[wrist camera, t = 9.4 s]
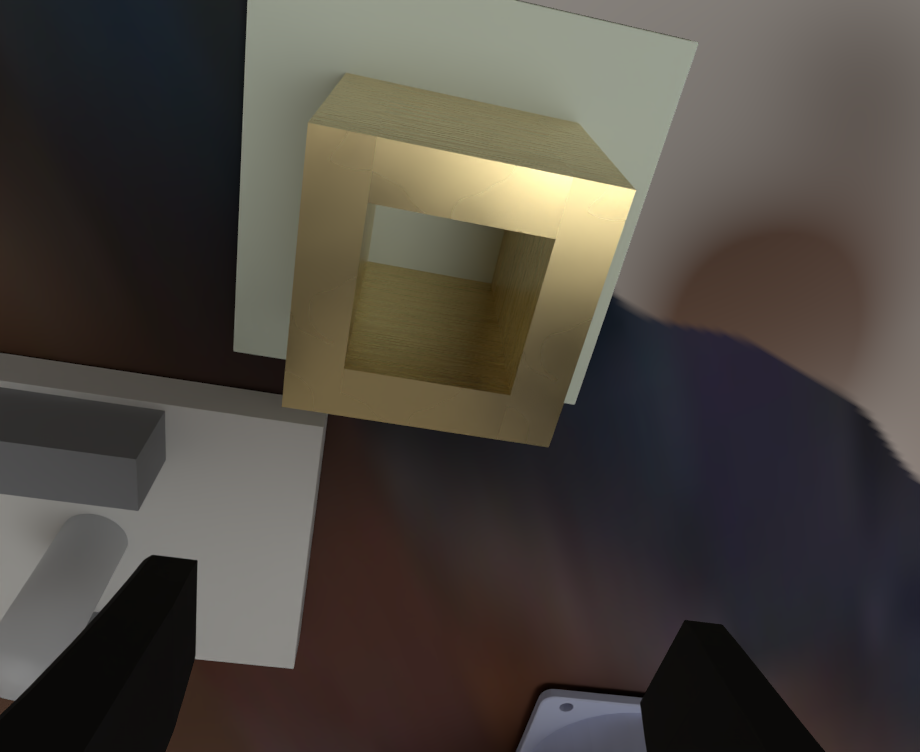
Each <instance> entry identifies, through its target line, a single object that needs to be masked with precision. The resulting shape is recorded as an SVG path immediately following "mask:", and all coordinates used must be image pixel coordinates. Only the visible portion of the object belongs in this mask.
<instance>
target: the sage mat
mask: <svg viewBox="0 0 920 752" xmlns="http://www.w3.org/2000/svg"><path fill="white" fill-rule="evenodd" d="M697 46H698V43H697V42H694V41H691V40H688V39H683V38H679V37H675V36H671V35H666V34H662V33H657V32H653V31H649V30H645V29H640V28H635V27H632V26H627V25H623V24H619V23H614V22H610V21H606V20H601V19H597V18H593V17H588V16H583V15H579V14H575V13H571V12H567V11H562V10H558V9H554V8H549V7H545V6H541V5H537V4H532V3H528V2H523V1H519V0H248V2H247V27H246V51H245V76H244V101H243V125H242V150H241V175H240V200H239V224H238V249H237V274H236V298H235V323H234V348H233V351H234V352H241V353H247V354H254V355H260V356H266V357H273V358H279V359H286V354H287V343H288V333H289V322H290V311H291V300H292V289H293V278H294V267H295V257H296V246H297V235H298V224H299V213H300V202H301V192H302V181H303V170H304V159H305V148H306V137H307V127H308V122H309V120H310V119H311V118H312V117H313V115H314V114H315V113H316V111H317V110H318V109H319V107H320V106H321V105H322V103H323V102H324V101H325V100H326V98H327V97H328V96H329V94H330V93H331V92H332V90H333V89H334V88H335V86H336V85H337V84H338V83H339V81H340V80H341V79H342V77H343V76H344V75H345V73H350V74H355V75H359V76H364V77H369V78H373V79H378V80H383V81H387V82H392V83H396V84H401V85H406V86H410V87H415V88H419V89H424V90H429V91H433V92H438V93H443V94H447V95H452V96H456V97H461V98H466V99H470V100H475V101H479V102H484V103H489V104H493V105H498V106H502V107H507V108H512V109H516V110H521V111H526V112H530V113H535V114H539V115H544V116H549V117H553V118H558V119H562V120H567V121H572V122H576V123H579V124H580V125H581V126H582V128H583V129H584V130H585V131H586V132H587V133H588V135H589V136H590V137H591V138H592V139H593V140H594V142H595V143H596V144H597V145H598V146H599V147H600V149H601V150H602V151H603V152H604V153H605V154H606V156H607V157H608V158H609V159H610V160H611V161H612V163H613V164H614V165H615V166H616V167H617V168H618V170H619V171H620V172H621V173H622V174H623V175H624V177H625V178H626V179H627V180H628V181H629V182H630V184H631V185H632V186H633V187H634V188H635V189H636V192H635V195H634V198H633V201H632V204H631V206H630V209H629V212H628V215H627V218H626V221H625V224H624V227H623V230H622V233H621V236H620V239H619V242H618V245H617V248H616V251H615V254H614V256H613V259H612V262H611V265H610V268H609V271H608V274H607V277H606V280H605V283H604V286H603V289H602V292H601V295H600V298H599V301H598V304H597V307H596V309H595V312H594V315H593V318H592V321H591V324H590V327H589V330H588V333H587V336H586V339H585V342H584V345H583V348H582V351H581V354H580V357H579V359H578V362H577V365H576V368H575V371H574V374H573V377H572V380H571V383H570V386H569V389H568V392H567V395H566V398H565V401H564V403H568V404H574V405H575V402H576V399H577V396H578V393H579V390H580V388H581V385H582V382H583V379H584V376H585V373H586V370H587V367H588V364H589V361H590V358H591V355H592V353H593V350H594V347H595V344H596V341H597V338H598V335H599V332H600V329H601V326H602V323H603V320H604V318H605V315H606V312H607V309H608V306H609V303H610V300H611V297H612V294H613V291H614V288H615V285H616V283H617V280H618V277H619V273H620V271H621V268H622V265H623V262H624V259H625V256H626V253H627V250H628V247H629V244H630V242H631V238H632V236H633V233H634V230H635V227H636V224H637V221H638V218H639V215H640V213H641V210H642V207H643V204H644V200H645V198H646V195H647V192H648V189H649V186H650V183H651V180H652V177H653V175H654V172H655V169H656V166H657V163H658V160H659V157H660V154H661V151H662V148H663V146H664V142H665V140H666V137H667V134H668V131H669V128H670V125H671V122H672V119H673V116H674V113H675V111H676V108H677V104H678V102H679V99H680V96H681V93H682V90H683V87H684V84H685V81H686V78H687V75H688V73H689V70H690V67H691V64H692V61H693V58H694V55H695V52H696V49H697ZM504 231H505V229H500V228H495V227H489V226H484V225H479V224H474V223H469V222H464V221H458V220H453V219H448V218H443V217H438V216H432V215H427V214H422V213H417V212H412V211H407V210H401V209H396V208H391V207H386V206H381V205H376V209H375V216H374V223H373V229H372V236H371V243H370V250H369V256H368V261H370V262H375V263H381V264H386V265H392V266H397V267H403V268H408V269H414V270H419V271H425V272H430V273H436V274H441V275H447V276H452V277H458V278H463V279H469V280H474V281H480V282H485V283H492V279H493V275H494V271H495V267H496V263H497V259H498V255H499V251H500V247H501V243H502V239H503V235H504Z"/></svg>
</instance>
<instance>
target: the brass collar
mask: <svg viewBox="0 0 920 752" xmlns="http://www.w3.org/2000/svg"><path fill="white" fill-rule="evenodd" d="M635 192H636V189H635V188H634V187H633V186H632V185H631V184H630V182H629V181H628V180H627V179H626V178H625V177H624V175H623V174H622V173H621V172H620V171H619V170H618V168H617V167H616V166H615V165H614V164H613V163H612V161H611V160H610V159H609V158H608V157H607V156H606V154H605V153H604V152H603V151H602V150H601V149H600V147H599V146H598V145H597V144H596V143H595V142H594V140H593V139H592V138H591V137H590V136H589V135H588V133H587V132H586V131H585V130H584V129H583V128H582V126H581V125H580V124H579V123H576V122H572V121H567V120H562V119H558V118H553V117H549V116H544V115H539V114H535V113H530V112H526V111H521V110H516V109H512V108H507V107H502V106H498V105H493V104H489V103H484V102H479V101H475V100H470V99H466V98H461V97H456V96H452V95H447V94H443V93H438V92H433V91H429V90H424V89H419V88H415V87H410V86H406V85H401V84H396V83H392V82H387V81H383V80H378V79H373V78H369V77H364V76H359V75H355V74H350V73H345V75H344V76H343V77H342V79H341V80H340V81H339V83H338V84H337V85H336V86H335V88H334V89H333V90H332V92H331V93H330V94H329V96H328V97H327V98H326V100H325V101H324V102H323V103H322V105H321V106H320V107H319V109H318V110H317V111H316V113H315V114H314V115H313V117H312V118H311V119H310V120H309V122H308V127H307V137H306V148H305V159H304V170H303V181H302V192H301V202H300V213H299V224H298V235H297V246H296V257H295V267H294V278H293V289H292V300H291V311H290V322H289V333H288V343H287V354H286V365H285V376H284V387H283V398H282V407H287V408H293V409H300V410H306V411H313V412H320V413H326V414H333V415H339V416H346V417H352V418H359V419H366V420H372V421H379V422H385V423H392V424H399V425H405V426H412V427H418V428H425V429H431V430H438V431H445V432H451V433H458V434H464V435H471V436H477V437H484V438H491V439H497V440H504V441H510V442H517V443H524V444H530V445H537V446H543V447H549V445H550V442H551V439H552V436H553V433H554V430H555V427H556V424H557V421H558V418H559V415H560V412H561V410H562V407H563V404H564V401H565V398H566V395H567V392H568V389H569V386H570V383H571V380H572V377H573V374H574V371H575V368H576V365H577V362H578V359H579V357H580V354H581V351H582V348H583V345H584V342H585V339H586V336H587V333H588V330H589V327H590V324H591V321H592V318H593V315H594V312H595V309H596V307H597V304H598V301H599V298H600V295H601V292H602V289H603V286H604V283H605V280H606V277H607V274H608V271H609V268H610V265H611V262H612V259H613V256H614V254H615V251H616V248H617V245H618V242H619V239H620V236H621V233H622V230H623V227H624V224H625V221H626V218H627V215H628V212H629V209H630V206H631V204H632V201H633V198H634V195H635ZM376 205H381V206H386V207H391V208H396V209H401V210H407V211H412V212H417V213H422V214H427V215H432V216H438V217H443V218H448V219H453V220H458V221H464V222H469V223H474V224H479V225H484V226H489V227H495V228H500V229H505V231H504V235H503V239H502V243H501V247H500V251H499V255H498V259H497V263H496V267H495V271H494V275H493V279H492V283H485V282H480V281H474V280H469V279H463V278H458V277H452V276H447V275H441V274H436V273H430V272H425V271H419V270H414V269H408V268H403V267H397V266H392V265H386V264H381V263H375V262H370V261H368V256H369V250H370V243H371V236H372V229H373V223H374V216H375V209H376Z"/></svg>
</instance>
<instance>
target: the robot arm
mask: <svg viewBox="0 0 920 752" xmlns="http://www.w3.org/2000/svg"><path fill="white" fill-rule="evenodd" d="M197 564H198V560H192V559H184V558H176V557H168V556H160V555H151V556H149V557H147V558H146V559H144V560H143V561H142V563H141V564H140V565H139V566H138V567H137V569H136V570H135V571H134V572H133V574H132V575H131V576H130V577H129V578H128V580H127V581H126V582H125V583H124V584H123V586H122V587H121V588H120V589H119V590H118V591H117V593H116V594H115V595H114V596H113V597H112V598H111V600H110V601H109V602H108V603H107V604H106V605H105V606H104V608H103V609H102V610H101V611H100V612H99V613H98V614H97V615H96V617H95V618H94V619H93V620H92V621H91V622H90V623H89V624H88V625H87V626H86V627H85V629H84V630H83V631H82V632H81V633H80V634H79V635H78V636H77V637H76V638H75V640H74V641H73V642H72V643H71V644H70V645H69V646H68V647H67V648H66V649H65V650H64V651H63V652H62V653H61V654H60V655H59V656H58V657H57V658H56V659H55V660H54V661H53V662H52V664H51V665H50V666H49V667H48V668H47V669H46V670H45V671H44V672H43V673H42V674H41V675H40V676H39V677H38V678H37V679H36V680H35V681H34V682H33V683H32V684H31V685H30V686H29V687H28V688H27V689H26V690H25V691H24V692H23V693H22V694H21V695H20V696H19V697H18V698H17V699H16V700H15V701H14V702H13V703H12V704H11V705H10V706H9V707H8V708H7V709H6V710H5V711H4V712H3V713H2V714H1V715H0V752H165V751H166V749H167V746H168V744H169V741H170V738H171V736H172V733H173V731H174V728H175V724H176V721H177V718H178V714H179V711H180V708H181V704H182V701H183V698H184V694H185V691H186V687H187V684H188V680H189V677H190V673H191V670H192V666H193V663H194V659H195V656H196V612H197ZM516 752H825V751H824V750H823V748H822V747H821V746H820V745H819V744H818V742H817V741H816V740H815V739H814V738H813V736H812V735H811V734H810V733H809V731H808V730H807V729H806V728H805V726H804V725H803V724H802V723H801V722H800V720H799V719H798V718H797V717H796V715H795V714H794V713H793V712H792V710H791V709H790V708H789V707H788V705H787V704H786V703H785V702H784V700H783V699H782V698H781V697H780V695H779V694H778V693H777V692H776V690H775V689H774V688H773V687H772V685H771V684H770V683H769V682H768V680H767V679H766V678H765V677H764V675H763V674H762V673H761V671H760V670H759V669H758V668H757V666H756V665H755V664H754V663H753V661H752V660H751V659H750V658H749V656H748V655H747V654H746V653H745V651H744V650H743V649H742V648H741V647H740V645H739V644H738V643H737V642H736V640H735V639H734V638H733V637H732V636H731V634H730V633H729V632H728V631H727V630H726V628H725V627H724V626H723V625H721V624H713V623H705V622H697V621H688V620H685V621H684V623H683V624H682V626H681V628H680V630H679V632H678V634H677V635H676V637H675V639H674V641H673V643H672V645H671V646H670V648H669V650H668V652H667V654H666V656H665V657H664V659H663V661H662V663H661V665H660V667H659V669H658V670H657V672H656V674H655V676H654V678H653V680H652V681H651V683H650V685H649V687H648V689H647V691H646V692H645V694H644V696H643V698H641V697H631V696H621V695H611V694H601V693H591V692H582V691H572V690H562V689H548V690H545V691H544V692H542V693H541V694H540V696H539V698H538V700H537V702H536V705H535V707H534V709H533V712H532V714H531V717H530V719H529V721H528V724H527V726H526V729H525V731H524V733H523V736H522V738H521V740H520V743H519V745H518V748H517V750H516Z"/></svg>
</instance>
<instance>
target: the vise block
mask: <svg viewBox="0 0 920 752" xmlns="http://www.w3.org/2000/svg"><path fill="white" fill-rule="evenodd" d="M282 398H283V395H279V394H273V393H266V392H259V391H253V390H246V389H239V388H233V387H226V386H219V385H213V384H206V383H199V382H192V381H186V380H179V379H172V378H166V377H159V376H152V375H146V374H139V373H132V372H126V371H119V370H112V369H106V368H99V367H92V366H85V365H79V364H72V363H65V362H59V361H52V360H45V359H39V358H32V357H25V356H19V355H12V354H5V353H0V697H1V698H5V699H9V700H14V701H15V700H16V699H17V698H18V697H19V696H20V695H21V694H22V693H23V692H24V691H25V690H26V689H27V688H28V687H29V686H30V685H31V684H32V683H33V682H34V681H35V680H36V679H37V678H38V677H39V676H40V675H41V674H42V673H43V672H44V671H45V670H46V669H47V668H48V667H49V666H50V665H51V664H52V662H53V661H54V660H55V659H56V658H57V657H58V656H59V655H60V654H61V653H62V652H63V651H64V650H65V649H66V648H67V647H68V646H69V645H70V644H71V643H72V642H73V641H74V640H75V638H76V637H77V636H78V635H79V634H80V633H81V632H82V631H83V630H84V629H85V627H86V626H87V625H88V624H89V623H90V622H91V621H92V620H93V619H94V618H95V617H96V615H97V614H98V613H99V612H100V611H101V610H102V609H103V608H104V606H105V605H106V604H107V603H108V602H109V601H110V600H111V598H112V597H113V596H114V595H115V594H116V593H117V591H118V590H119V589H120V588H121V587H122V586H123V584H124V583H125V582H126V581H127V580H128V578H129V577H130V576H131V575H132V574H133V572H134V571H135V570H136V569H137V567H138V566H139V565H140V564H141V563H142V561H143V560H144V559H146V558H147V557H149V556H151V555H160V556H168V557H176V558H184V559H192V560H198V564H197V612H196V656H195V659H200V660H210V661H220V662H230V663H240V664H250V665H260V666H270V667H280V668H290V669H294V664H295V659H296V654H297V649H298V644H299V639H300V631H301V623H302V615H303V607H304V599H305V591H306V584H307V576H308V568H309V560H310V552H311V544H312V536H313V528H314V520H315V513H316V505H317V497H318V489H319V481H320V473H321V465H322V457H323V450H324V442H325V434H326V426H327V418H328V414H326V413H320V412H313V411H306V410H300V409H293V408H287V407H282Z"/></svg>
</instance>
